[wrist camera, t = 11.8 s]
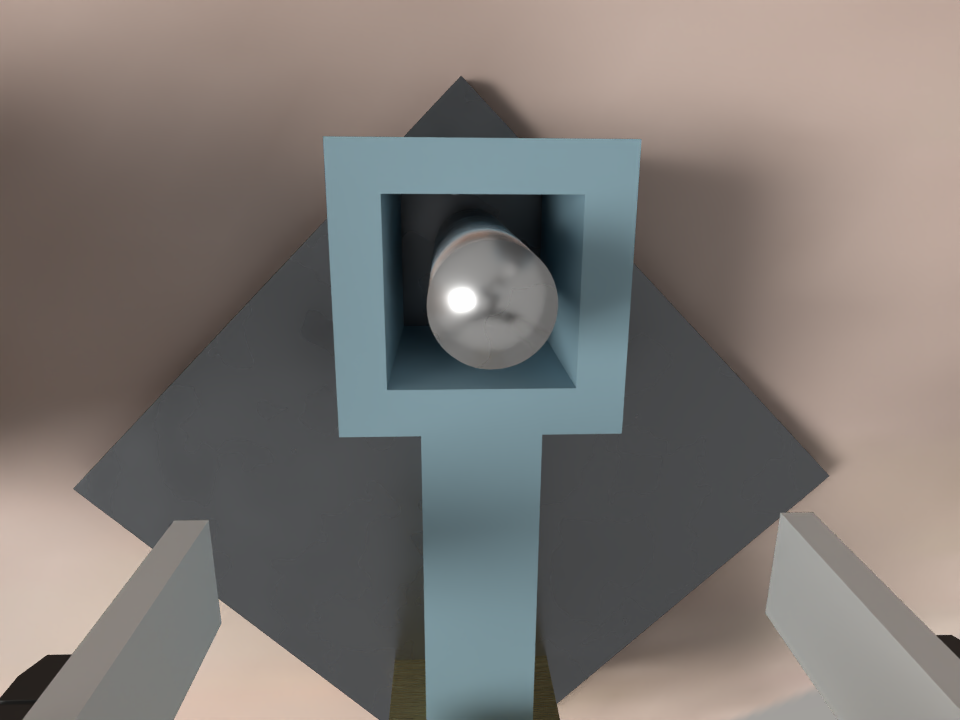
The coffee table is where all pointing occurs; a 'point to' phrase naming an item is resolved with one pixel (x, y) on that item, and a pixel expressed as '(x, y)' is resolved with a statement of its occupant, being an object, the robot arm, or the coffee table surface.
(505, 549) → the link
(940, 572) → the coffee table surface
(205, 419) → the plate
